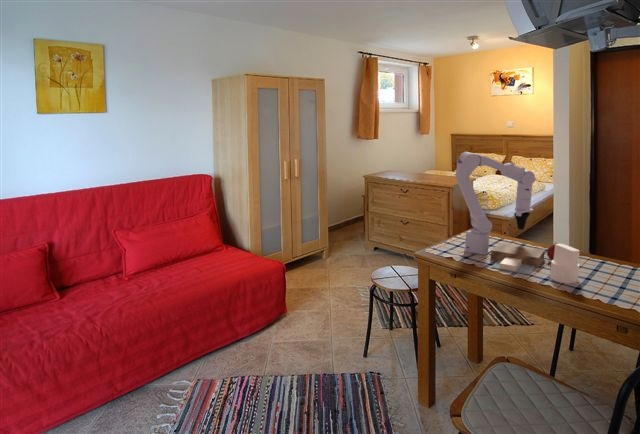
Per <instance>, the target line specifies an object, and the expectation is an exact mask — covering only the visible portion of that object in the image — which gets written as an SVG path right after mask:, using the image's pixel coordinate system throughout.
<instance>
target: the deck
mask: <svg viewBox="0 0 640 434" xmlns="http://www.w3.org/2000/svg"><path fill="white" fill-rule="evenodd" d="M545 253H546V250H545V249H543V248H542V249H541V248H534V247H529V246H522V245H515V244H507V243H501V242H499V243H498V244H496V245H495V247H493V248H492V249H491V251H490V260H493V261H496V262H497V261H498V260H501V261H503V260H504V259H505V257H509V258H515V259H521V260H522V263H521V264H524V265H530V266H535V268H537V269H538V268H539V267H540V265H541V264H542V262H543V261H544V260H545Z"/></svg>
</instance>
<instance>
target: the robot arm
mask: <svg viewBox="0 0 640 434" xmlns="http://www.w3.org/2000/svg"><path fill="white" fill-rule="evenodd" d="M483 166H486V167H488V168H492V169H493V170H497V171H500V174H501V175H502V176H503V177H505V178H508V179H511V180H513V181H516V182H517V186H516V195H515V196H516V197H515V208H514V211H515V212H514V213H513V214H514V217H515V219H516V225H517V230H522V231H523V230H524V229H525V228H526V224H527V222H528V221H527V220H528V219H529V217H530V215H531V212H533V211H534V209H533V208H531V203H532V193H533V192H532V191H533V184H534V183H535V182H536V179H537V177H536V176H535V173H534V172H533V171H531V170H528V169H526V168H525V167H523V166H522V167H520V166H518V165H516V163H514V162H506V163H502V162H499V161H497V160H495V159H493V158H491V157H489V156H485V155H482V154H477V153H475V152H474V153H472V152H470V151H464V152H462V153H461V154H460V155H458V158H457V160H456V170H455V179H456V182H457V184H458V186H459V189H460V192H461V194H462V196H463V198H464V201H465V203H466V206H467V208H468V210H469V216H470V224H471V227H472V230H471V229H470V230H467V232H466V234H465V241H464V243H465V245H464V252H467V253H470V254H471V253H472V254H478V255H484V256H487V255H488V254H489V253H491V250H492V249H490V247H489V246H490V233H491V231H492V228H493V222H492V221H491V220H489V219H488V217H487V215H486V213H485V212H484V211H483V208H482V206H481V204H480V201H479V199H478V196H477V193H476V191H475V188H474V187H473V184H472V181H471V179H470V176H471V175H472V173H473V172H474V171H475V170H476V169H477V168H478V167H483Z"/></svg>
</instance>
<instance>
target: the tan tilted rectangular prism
mask: <svg viewBox="0 0 640 434" xmlns="http://www.w3.org/2000/svg"><path fill="white" fill-rule="evenodd" d="M521 263H522V260H521V259H515V258H509V257H505V259H504V260H503V261H502V262H501V263H500V268H501V269H507V270H512V271H516V270H517V269H518V268H519V267H520V265H521Z"/></svg>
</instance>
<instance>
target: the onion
mask: <svg viewBox="0 0 640 434" xmlns="http://www.w3.org/2000/svg"><path fill="white" fill-rule="evenodd" d="M555 244H559V243H558V242H554V244H553V245H551V246H549V247H548V248H547V252H546V255H547V257H548V259H549V260H551V261H552V260H554V250H555Z"/></svg>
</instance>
